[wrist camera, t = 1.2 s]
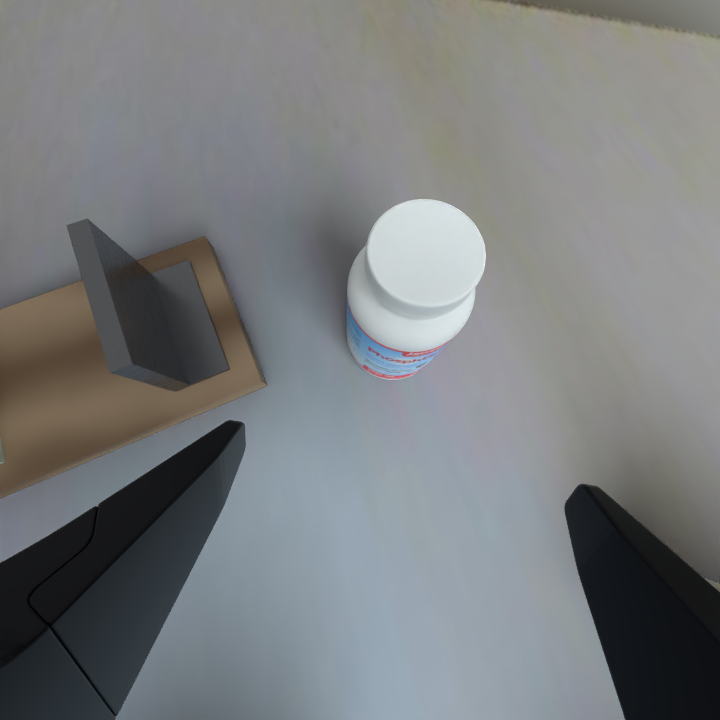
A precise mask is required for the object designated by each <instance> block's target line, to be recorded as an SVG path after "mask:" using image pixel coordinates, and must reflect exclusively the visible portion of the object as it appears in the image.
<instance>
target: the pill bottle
mask: <svg viewBox="0 0 720 720" xmlns="http://www.w3.org/2000/svg"><path fill="white" fill-rule="evenodd" d="M485 261H486V252H485V245H484V242H483V239H482V236H481V234H480V232H479V230H478V228H477V227H476V225H475V224H474V223H473V221H472V220H471V219H470V218H469V217H468V216H467V215H465V214H464V213H463V212H461V211H460V210H459V209H457V208H455V207H454V206H452V205H449V204H447V203H444V202H441V201H437V200H431V199H416V200H409V201H406V202H403V203H400V204H398V205H396V206H393V207H392V208H390V209H389V210H387V211H386V212H385V213H384V214H383V215H382V216H381V217H380V218H379V219H378V220H377V221H376V223H375V224H374V225H373V227H372V229H371V231H370V233H369V237H368V240H367V244H366V245H365V246H364V247H363V249H362V250H361V251H360V252H359V254H358V255H357V257H356V258H355V260H354V262H353V265H352V267H351V270H350V273H349V277H348V286H347V342H348V346H349V349H350V351H351V353H352V355H353V357H354V359H355V360H356V362H357V363H358V364H359V365H360V366H361V367H362V368H363V369H364V370H365V371H366V372H368V373H369V374H371V375H373V376H375V377H378V378H381V379H386V380H399V379H404V378H407V377H410V376H412V375H414V374H416V373H417V372H419V371H420V370H421V369H423V368H424V367H425V366H426V365H427V364H428V363H429V362H430V361H431V360H432V359H433V358H434V357H435V356H436V355H437V354H438V353H439V352H440V351H441V350H442V349H443V348H444V347H445V346H446V345H447V344H448V342H449V341H450V340H451V339H452V338H453V337H454V336H455V335H456V334H457V333H458V332H459V331H460V330H461V328H462V327H463V326H464V325H465V323H466V321H467V320H468V318H469V316H470V313H471V311H472V308H473V304H474V299H475V287H476V285H477V284H478V282H479V280H480V278H481V276H482V274H483V271H484V267H485Z"/></svg>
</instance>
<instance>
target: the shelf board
mask: <svg viewBox="0 0 720 720" xmlns="http://www.w3.org/2000/svg"><path fill="white" fill-rule="evenodd" d="M187 260H189V261H190V262H191V265H192V267H193V270H194V273H195V275H196V278H197V281H198V283H199V286H200V289H201V292H202V294H203V297H204V300H205V302H206V305H207V308H208V310H209V313H210V316H211V318H212V321H213V324H214V327H215V329H216V332H217V335H218V337H219V340H220V343H221V345H222V348H223V351H224V353H225V356H226V359H227V362H228V364H229V367H230V370H228V371H226V372H223V373H221V374H218V375H216V376H214V377H211V378H209V379H206V380H204V381H201V382H199V383H197V384H194V385H192V386H189V387H187V388H184V389H182V390H179V391H177V392H173V391H170V390H167V389H163V388H160V387H156V386H153V385H150V384H146V383H143V382H140V381H136V380H133V379H129V378H126V377H123V376H119V375H116V374H112V373H110V372H109V368H108V365H107V362H106V358H105V355H104V351H103V348H102V345H101V341H100V338H99V334H98V331H97V327H96V324H95V321H94V317H93V314H92V310H91V307H90V304H89V300H88V297H87V293H86V290H85V287H84V283H83V280H81V281H78V282H76V283H73V284H70V285H67V286H64V287H62V288H59V289H56V290H53V291H50V292H48V293H45V294H42V295H39V296H36V297H34V298H31V299H28V300H25V301H22V302H20V303H17V304H14V305H11V306H8V307H6V308H3V309H0V439H1V444H2V449H3V453H4V458H5V462H4V463H1V464H0V498H2V497H5V496H7V495H9V494H12V493H14V492H16V491H19V490H21V489H24V488H26V487H28V486H31V485H33V484H35V483H38V482H40V481H42V480H45V479H47V478H50V477H52V476H54V475H57V474H59V473H61V472H64V471H66V470H69V469H71V468H73V467H76V466H78V465H80V464H83V463H85V462H88V461H90V460H92V459H95V458H97V457H99V456H102V455H104V454H106V453H109V452H111V451H114V450H116V449H118V448H121V447H123V446H125V445H128V444H130V443H133V442H135V441H137V440H140V439H142V438H144V437H147V436H149V435H152V434H154V433H156V432H159V431H161V430H163V429H166V428H168V427H170V426H173V425H175V424H178V423H180V422H182V421H185V420H187V419H189V418H192V417H194V416H197V415H199V414H201V413H204V412H206V411H208V410H211V409H213V408H215V407H218V406H220V405H223V404H225V403H227V402H230V401H232V400H234V399H237V398H239V397H242V396H244V395H246V394H249V393H251V392H253V391H256V390H258V389H261V388H263V387H265V386H267V384H266V381H265V379H264V376H263V373H262V371H261V368H260V366H259V363H258V361H257V358H256V356H255V353H254V350H253V348H252V345H251V343H250V340H249V338H248V335H247V332H246V330H245V327H244V325H243V322H242V320H241V317H240V315H239V312H238V309H237V307H236V304H235V302H234V299H233V297H232V294H231V292H230V289H229V286H228V284H227V281H226V279H225V276H224V274H223V271H222V269H221V266H220V263H219V261H218V258H217V256H216V253H215V251H214V248H213V247H212V245H211V244H210V242H209V241H208V239H207V238H206V237H205V236H204V237H201V238H199V239H196V240H193V241H190V242H187V243H185V244H182V245H179V246H176V247H173V248H171V249H168V250H165V251H162V252H159V253H157V254H154V255H151V256H148V257H146V258H143V259H140V260H137V262H138V263H140V264H141V265H142V266H143V267H144V268H145V269H147V270H148V271H149V272H150V273H151V274H152V273H154V272H157V271H160V270H163V269H165V268H168V267H171V266H174V265H176V264H179V263H182V262H185V261H187Z"/></svg>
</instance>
